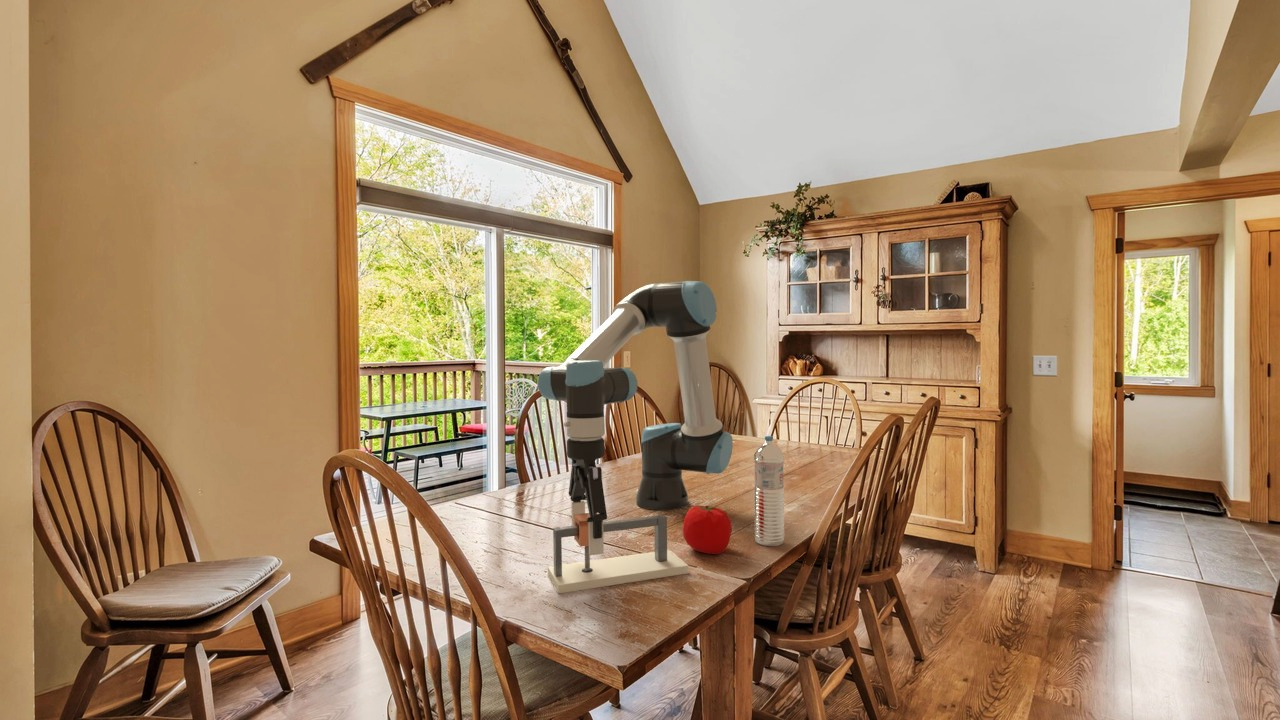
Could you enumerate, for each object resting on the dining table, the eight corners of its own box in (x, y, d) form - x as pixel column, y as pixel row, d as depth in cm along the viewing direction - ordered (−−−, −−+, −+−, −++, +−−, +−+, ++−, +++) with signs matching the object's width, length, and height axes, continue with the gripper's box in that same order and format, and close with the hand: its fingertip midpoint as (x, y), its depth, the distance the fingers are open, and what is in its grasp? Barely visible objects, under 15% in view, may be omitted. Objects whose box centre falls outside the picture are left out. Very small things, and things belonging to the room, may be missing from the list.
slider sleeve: (593, 561, 124) (593, 512, 123) (600, 570, 119) (599, 519, 119) (574, 564, 122) (574, 514, 122) (580, 573, 118) (580, 521, 117)
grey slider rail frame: (663, 557, 128) (663, 514, 127) (667, 560, 126) (666, 517, 125) (553, 573, 119) (553, 527, 119) (555, 577, 118) (555, 530, 117)
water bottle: (765, 535, 146) (764, 433, 145) (789, 542, 141) (789, 436, 140) (748, 542, 141) (748, 436, 141) (773, 549, 136) (773, 440, 136)
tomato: (705, 564, 128) (705, 516, 128) (671, 547, 139) (671, 503, 138) (745, 553, 134) (745, 508, 134) (709, 538, 145) (709, 496, 144)
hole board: (669, 556, 132) (669, 549, 132) (688, 573, 123) (688, 564, 123) (547, 574, 123) (547, 566, 123) (558, 593, 114) (558, 584, 114)
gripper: (554, 430, 130) (555, 526, 131) (583, 449, 107) (584, 567, 108) (587, 428, 133) (588, 523, 134) (623, 446, 109) (624, 561, 110)
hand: (586, 542), depth 121 cm, fingers open, 13 cm apart
